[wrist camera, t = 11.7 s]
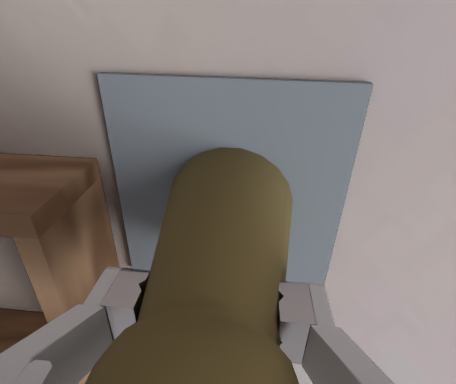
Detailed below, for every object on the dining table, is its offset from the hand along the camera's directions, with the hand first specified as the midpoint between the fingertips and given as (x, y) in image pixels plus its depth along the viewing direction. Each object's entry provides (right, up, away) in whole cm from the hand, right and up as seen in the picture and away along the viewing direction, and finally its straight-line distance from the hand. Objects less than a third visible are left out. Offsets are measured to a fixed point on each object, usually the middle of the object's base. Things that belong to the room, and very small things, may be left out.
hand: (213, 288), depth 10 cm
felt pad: (+1, +3, +5) cm, 6 cm away
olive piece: (+1, +3, +5) cm, 6 cm away
